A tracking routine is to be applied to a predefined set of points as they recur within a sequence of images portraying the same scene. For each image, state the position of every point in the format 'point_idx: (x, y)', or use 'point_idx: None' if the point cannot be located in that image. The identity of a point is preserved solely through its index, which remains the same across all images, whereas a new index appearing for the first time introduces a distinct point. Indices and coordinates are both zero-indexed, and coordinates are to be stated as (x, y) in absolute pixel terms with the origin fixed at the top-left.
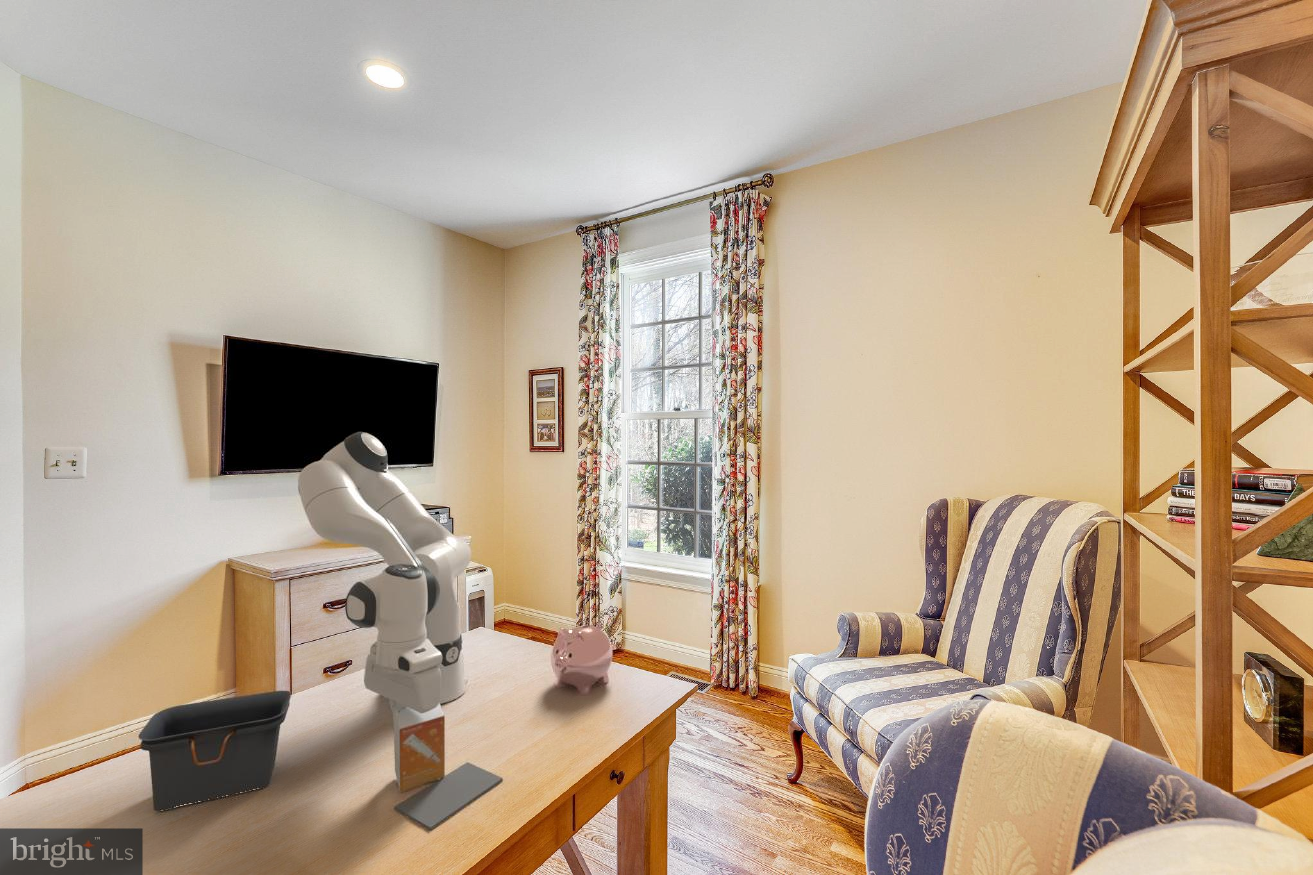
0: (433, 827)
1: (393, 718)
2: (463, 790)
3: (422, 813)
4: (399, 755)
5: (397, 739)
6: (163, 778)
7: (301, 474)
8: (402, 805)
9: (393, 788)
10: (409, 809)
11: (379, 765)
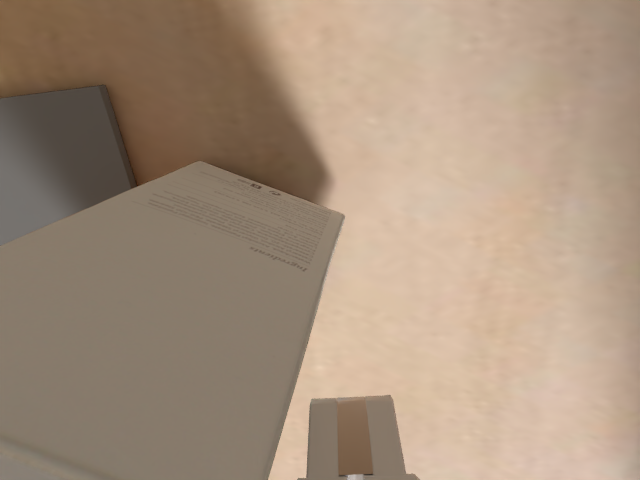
0: None
1: (382, 422)
2: None
3: None
4: (71, 215)
5: (81, 278)
6: None
7: None
8: (82, 116)
9: (267, 160)
10: (33, 122)
11: (496, 206)
